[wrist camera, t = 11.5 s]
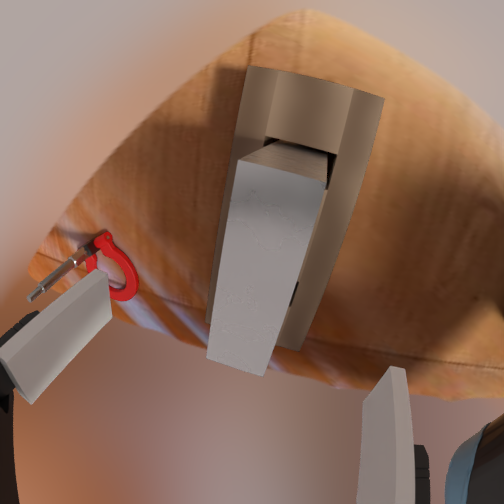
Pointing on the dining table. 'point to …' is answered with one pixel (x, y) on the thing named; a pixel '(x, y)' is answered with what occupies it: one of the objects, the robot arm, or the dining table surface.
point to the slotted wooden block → (339, 181)
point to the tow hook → (94, 267)
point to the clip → (264, 250)
